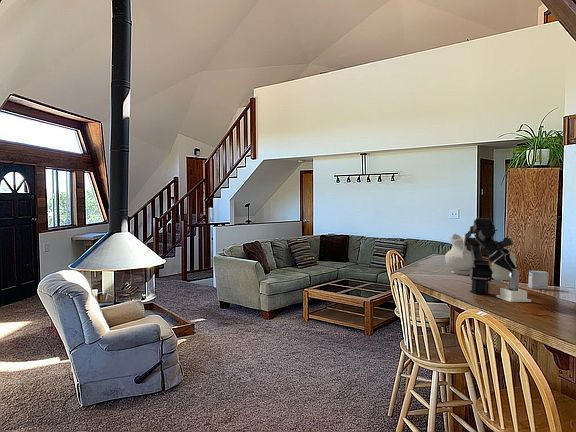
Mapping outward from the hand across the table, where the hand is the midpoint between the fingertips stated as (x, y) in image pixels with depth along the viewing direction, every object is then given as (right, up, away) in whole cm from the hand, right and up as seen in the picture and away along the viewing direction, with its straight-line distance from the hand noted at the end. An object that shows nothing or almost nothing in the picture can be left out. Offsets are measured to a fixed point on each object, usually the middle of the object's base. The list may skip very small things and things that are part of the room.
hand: (513, 269), depth 196 cm
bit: (0, -12, 0) cm, 12 cm away
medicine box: (+28, -13, +30) cm, 43 cm away
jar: (+23, -12, +57) cm, 63 cm away
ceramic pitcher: (+6, -11, +73) cm, 74 cm away
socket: (0, -13, 0) cm, 13 cm away
